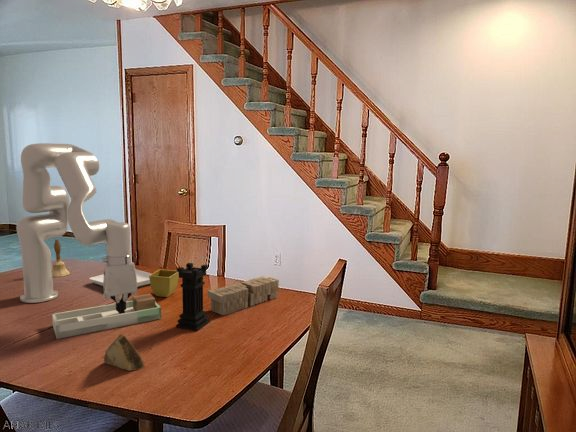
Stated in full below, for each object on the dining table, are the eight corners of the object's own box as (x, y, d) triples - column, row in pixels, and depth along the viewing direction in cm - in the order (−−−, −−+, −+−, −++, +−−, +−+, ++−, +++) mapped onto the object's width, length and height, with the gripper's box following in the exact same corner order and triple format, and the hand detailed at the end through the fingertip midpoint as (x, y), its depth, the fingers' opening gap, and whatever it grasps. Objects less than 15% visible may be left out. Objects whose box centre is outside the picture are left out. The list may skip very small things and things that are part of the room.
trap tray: (52, 325, 144) (51, 313, 143) (151, 307, 161) (151, 297, 160) (56, 339, 134) (56, 326, 133) (161, 318, 151) (161, 307, 151)
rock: (91, 356, 119) (103, 366, 111) (109, 327, 122) (121, 334, 114) (125, 370, 125) (139, 380, 117) (141, 341, 128) (155, 350, 120)
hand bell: (55, 278, 192) (53, 242, 190) (45, 275, 197) (43, 240, 194) (73, 274, 199) (71, 239, 196) (63, 270, 203) (61, 237, 201)
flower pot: (169, 299, 170) (169, 277, 168) (149, 297, 171) (148, 275, 170) (179, 292, 178) (179, 270, 177) (159, 290, 180) (159, 269, 178)
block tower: (264, 295, 181) (206, 311, 159) (265, 275, 179) (206, 288, 158) (278, 300, 175) (220, 317, 154) (279, 279, 174) (220, 294, 153)
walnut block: (133, 308, 154) (132, 296, 154) (150, 305, 158) (150, 293, 157) (137, 314, 149) (137, 301, 149) (155, 311, 153) (155, 298, 152)
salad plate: (131, 274, 202) (131, 266, 202) (161, 283, 190) (161, 275, 189) (87, 285, 185) (87, 277, 185) (117, 296, 173) (117, 288, 172)
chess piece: (209, 322, 149) (209, 264, 146) (197, 331, 142) (196, 271, 139) (189, 318, 152) (188, 262, 149) (176, 327, 145) (175, 268, 141)
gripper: (97, 265, 139) (99, 320, 142) (145, 259, 147) (146, 311, 150) (92, 260, 145) (95, 313, 148) (138, 254, 154) (140, 304, 157)
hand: (121, 312), depth 149 cm, fingers closed
